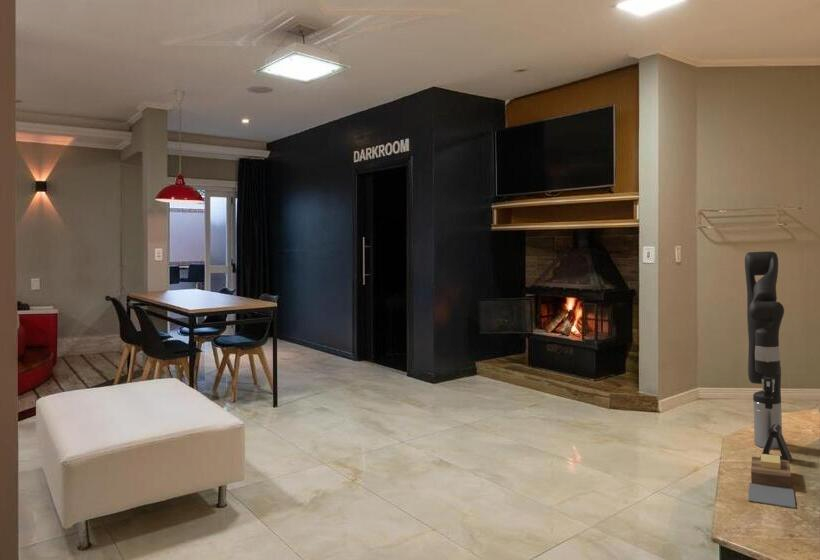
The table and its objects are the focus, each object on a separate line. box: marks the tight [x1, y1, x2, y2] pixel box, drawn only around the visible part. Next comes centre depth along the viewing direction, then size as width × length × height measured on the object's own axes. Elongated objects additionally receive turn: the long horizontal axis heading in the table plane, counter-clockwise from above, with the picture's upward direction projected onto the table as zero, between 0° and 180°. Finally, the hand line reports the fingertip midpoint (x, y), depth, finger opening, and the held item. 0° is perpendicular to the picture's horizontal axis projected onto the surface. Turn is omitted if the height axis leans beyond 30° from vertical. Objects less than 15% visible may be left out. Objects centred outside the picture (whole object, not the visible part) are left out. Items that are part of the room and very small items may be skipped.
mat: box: [748, 482, 797, 509], centre depth 181 cm, size 15×12×1 cm
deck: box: [750, 456, 793, 489], centre depth 195 cm, size 16×11×4 cm
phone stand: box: [760, 424, 793, 462], centre depth 212 cm, size 9×6×12 cm, turn 49°
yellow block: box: [760, 453, 781, 469], centre depth 196 cm, size 8×6×2 cm
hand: (768, 406), depth 204 cm, fingers open, 5 cm apart
